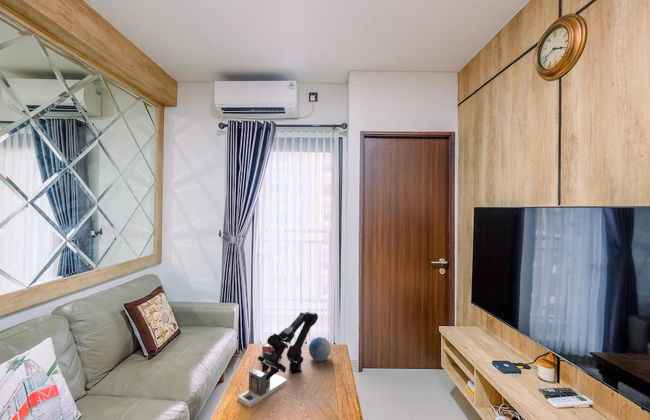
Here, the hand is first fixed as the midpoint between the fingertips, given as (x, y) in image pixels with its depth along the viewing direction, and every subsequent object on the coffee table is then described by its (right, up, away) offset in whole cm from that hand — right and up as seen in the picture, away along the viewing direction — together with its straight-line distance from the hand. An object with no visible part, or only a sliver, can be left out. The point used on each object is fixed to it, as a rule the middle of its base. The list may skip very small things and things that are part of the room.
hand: (263, 378), depth 178 cm
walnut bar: (-1, -5, -2) cm, 6 cm away
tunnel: (-3, -5, -4) cm, 7 cm away
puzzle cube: (-2, -6, +37) cm, 38 cm away
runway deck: (0, -7, 0) cm, 7 cm away
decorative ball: (+31, -7, +36) cm, 48 cm away
